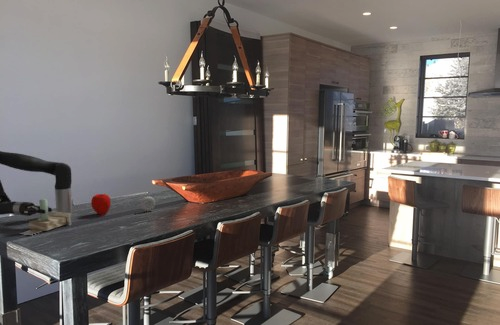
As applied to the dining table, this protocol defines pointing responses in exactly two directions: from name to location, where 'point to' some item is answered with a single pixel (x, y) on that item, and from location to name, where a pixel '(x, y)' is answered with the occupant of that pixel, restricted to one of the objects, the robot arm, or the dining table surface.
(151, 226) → the dining table surface
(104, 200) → the apple
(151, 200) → the donut
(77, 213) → the dining table surface
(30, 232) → the rail base
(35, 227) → the socket block
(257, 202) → the dining table surface
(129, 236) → the dining table surface
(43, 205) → the dowel
